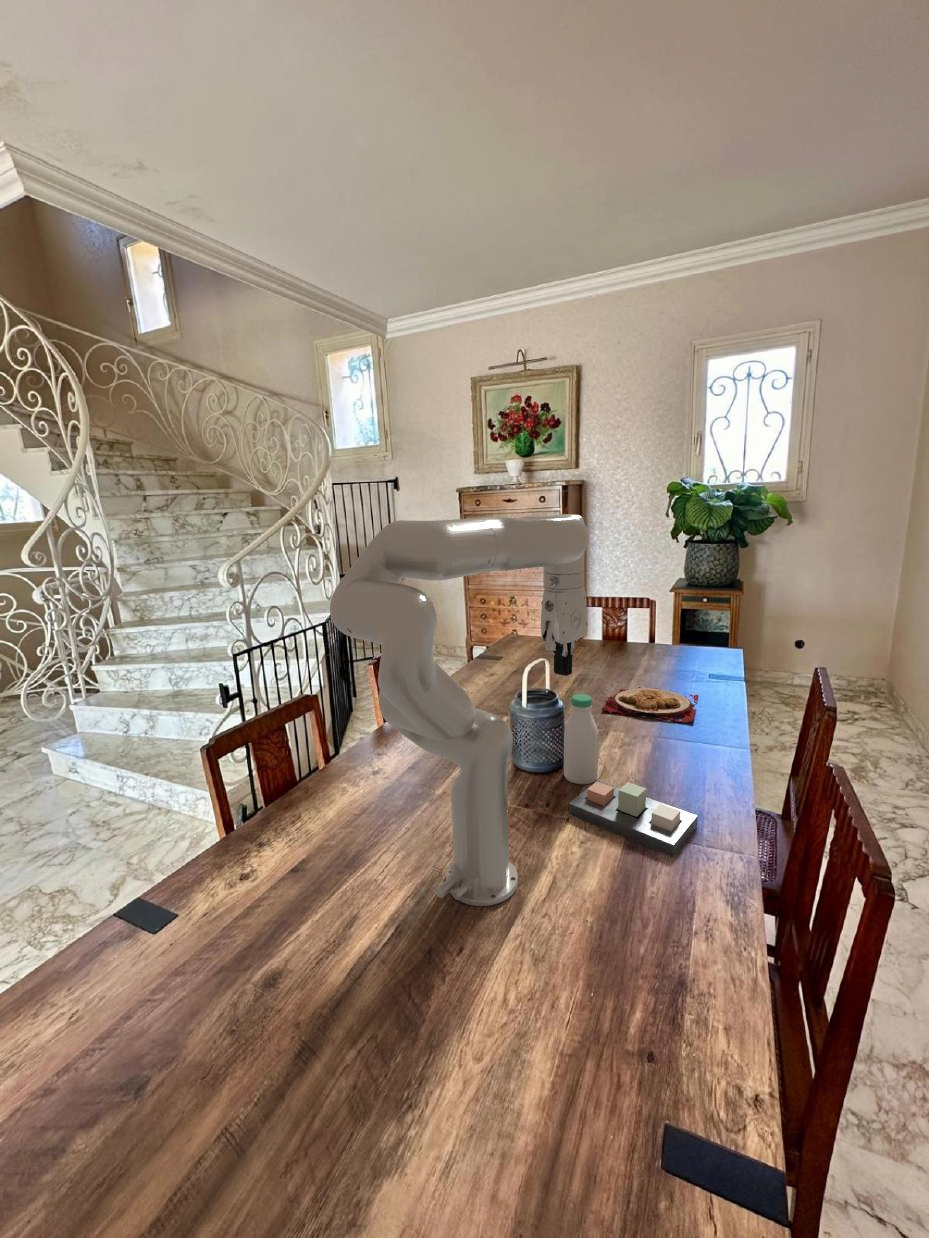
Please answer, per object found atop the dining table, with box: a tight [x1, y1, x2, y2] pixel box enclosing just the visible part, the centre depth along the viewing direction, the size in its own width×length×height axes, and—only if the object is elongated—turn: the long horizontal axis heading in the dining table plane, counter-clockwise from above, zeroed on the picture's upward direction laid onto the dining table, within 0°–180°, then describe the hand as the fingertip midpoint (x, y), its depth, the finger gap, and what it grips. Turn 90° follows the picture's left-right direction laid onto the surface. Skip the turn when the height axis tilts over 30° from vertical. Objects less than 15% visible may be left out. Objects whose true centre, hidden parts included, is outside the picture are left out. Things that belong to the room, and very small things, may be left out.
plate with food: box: [601, 686, 700, 723], centre depth 173 cm, size 24×26×4 cm
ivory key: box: [651, 804, 680, 832], centre depth 109 cm, size 4×4×4 cm
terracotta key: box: [586, 781, 614, 806], centre depth 118 cm, size 4×4×4 cm
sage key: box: [618, 781, 647, 818], centre depth 113 cm, size 4×4×4 cm
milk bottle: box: [563, 693, 599, 785], centre depth 129 cm, size 8×8×20 cm
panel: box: [568, 779, 698, 858], centre depth 114 cm, size 12×22×3 cm, turn 48°
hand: (562, 673), depth 110 cm, fingers closed
